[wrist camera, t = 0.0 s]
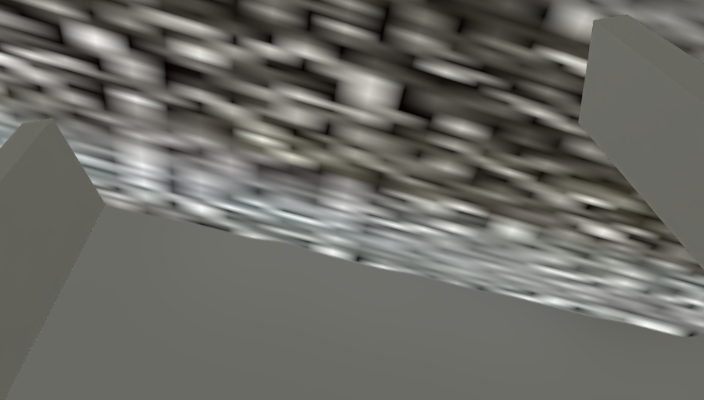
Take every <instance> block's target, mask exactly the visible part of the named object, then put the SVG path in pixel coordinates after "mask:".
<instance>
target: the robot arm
mask: <svg viewBox="0 0 704 400" xmlns="http://www.w3.org/2000/svg"><path fill="white" fill-rule="evenodd" d="M579 124H580V125H581V126H582V128H583V129H584V130H585V131H586V132H587V133H588V135H589V136H590V137H591V138H592V139H593V140H594V142H595V143H596V144H597V145H598V146H599V148H600V149H601V150H602V151H603V152H604V153H605V155H606V156H607V157H608V158H609V159H610V160H611V162H612V163H613V164H614V165H615V166H616V167H617V169H618V170H619V171H620V172H621V173H622V174H623V176H624V177H625V178H626V179H627V180H628V181H629V183H630V184H631V185H632V186H633V187H634V188H635V190H636V191H637V192H638V193H639V194H640V196H641V197H642V198H643V199H644V200H645V201H646V203H647V204H648V205H649V206H650V207H651V208H652V210H653V211H654V212H655V213H656V214H657V215H658V217H659V218H660V219H661V220H662V221H663V222H664V224H665V225H666V226H667V227H668V228H669V229H670V231H671V232H672V233H673V234H674V235H675V237H676V238H677V239H678V240H679V241H680V242H681V244H682V245H683V246H684V247H685V248H686V249H687V251H688V252H689V253H690V254H691V255H692V256H693V258H694V259H695V260H696V261H697V262H698V263H699V265H700V266H701V267H702V268H703V269H704V64H702V63H701V62H699V61H698V60H696V59H694V58H693V57H691V56H690V55H688V54H687V53H685V52H684V51H682V50H681V49H679V48H678V47H676V46H675V45H673V44H671V43H670V42H668V41H667V40H665V39H664V38H662V37H661V36H659V35H658V34H656V33H655V32H653V31H652V30H650V29H648V28H647V27H645V26H644V25H642V24H641V23H639V22H638V21H636V20H635V19H633V18H632V17H630V16H629V15H627V14H626V15H621V16H615V17H610V18H604V19H599V20H594V21H593V28H592V35H591V42H590V48H589V55H588V62H587V69H586V75H585V82H584V89H583V96H582V103H581V109H580V116H579ZM104 206H105V203H104V201H103V200H102V198H101V196H100V195H99V193H98V192H97V190H96V188H95V187H94V185H93V183H92V182H91V180H90V179H89V177H88V175H87V174H86V172H85V170H84V169H83V167H82V166H81V164H80V162H79V161H78V159H77V157H76V156H75V154H74V153H73V151H72V149H71V148H70V146H69V144H68V143H67V141H66V140H65V138H64V136H63V135H62V133H61V131H60V130H59V128H58V126H57V125H56V123H55V122H54V120H53V118H51V119H45V120H40V121H34V122H29V123H23V124H22V125H21V126H20V127H19V128H18V129H17V130H16V131H15V133H14V134H13V135H12V136H11V137H10V138H9V139H8V140H7V141H6V142H5V144H4V145H3V146H2V147H1V148H0V400H5V399H6V397H7V395H8V393H9V392H10V389H11V387H12V386H13V384H14V382H15V380H16V378H17V376H18V374H19V372H20V370H21V368H22V366H23V364H24V362H25V360H26V358H27V356H28V354H29V352H30V350H31V348H32V346H33V345H34V342H35V340H36V339H37V337H38V335H39V333H40V331H41V329H42V327H43V325H44V323H45V321H46V319H47V317H48V315H49V313H50V311H51V309H52V307H53V305H54V303H55V301H56V300H57V298H58V295H59V294H60V291H61V290H62V288H63V286H64V284H65V282H66V280H67V278H68V276H69V274H70V272H71V270H72V268H73V266H74V264H75V262H76V260H77V258H78V256H79V254H80V253H81V250H82V249H83V246H84V245H85V243H86V241H87V239H88V237H89V235H90V233H91V231H92V229H93V227H94V225H95V223H96V221H97V219H98V217H99V215H100V213H101V211H102V209H103V208H104Z"/></svg>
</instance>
